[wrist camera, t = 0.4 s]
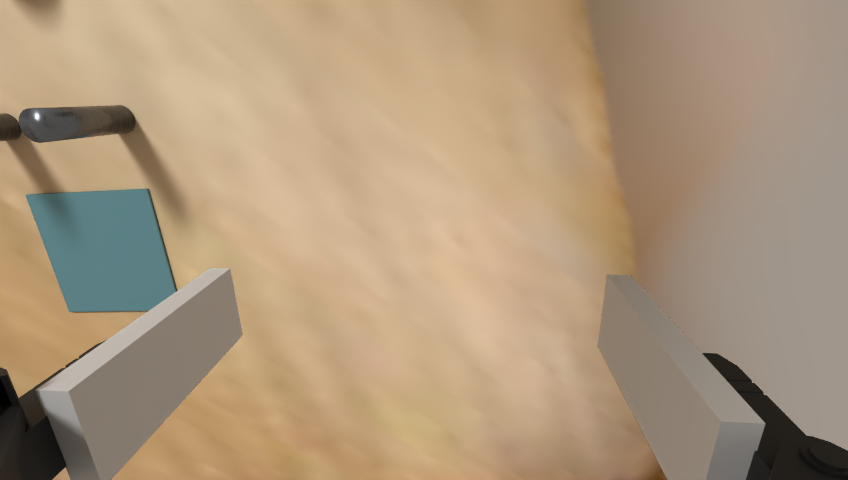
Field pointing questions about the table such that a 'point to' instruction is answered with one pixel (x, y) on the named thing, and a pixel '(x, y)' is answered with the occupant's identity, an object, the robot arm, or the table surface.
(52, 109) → the post
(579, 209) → the table surface
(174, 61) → the table surface
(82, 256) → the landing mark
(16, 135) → the post
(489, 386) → the table surface
